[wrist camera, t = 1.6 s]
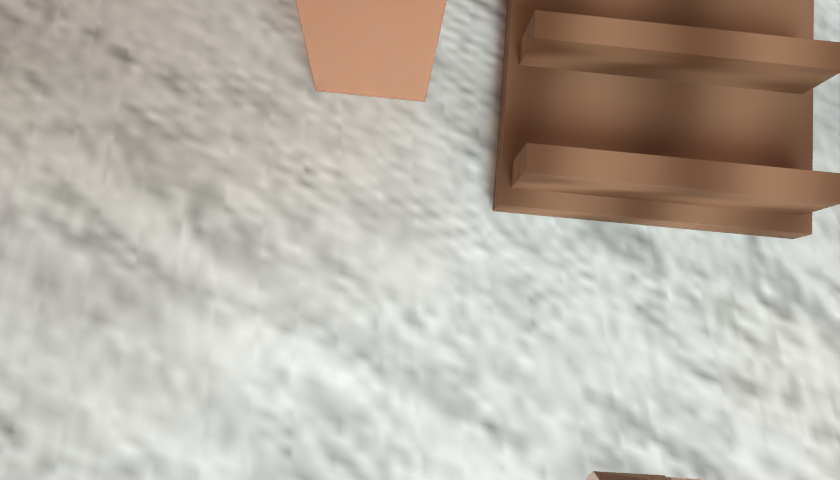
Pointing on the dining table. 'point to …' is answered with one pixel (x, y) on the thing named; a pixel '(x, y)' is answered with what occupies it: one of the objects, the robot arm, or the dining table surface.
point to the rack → (664, 114)
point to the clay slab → (372, 45)
